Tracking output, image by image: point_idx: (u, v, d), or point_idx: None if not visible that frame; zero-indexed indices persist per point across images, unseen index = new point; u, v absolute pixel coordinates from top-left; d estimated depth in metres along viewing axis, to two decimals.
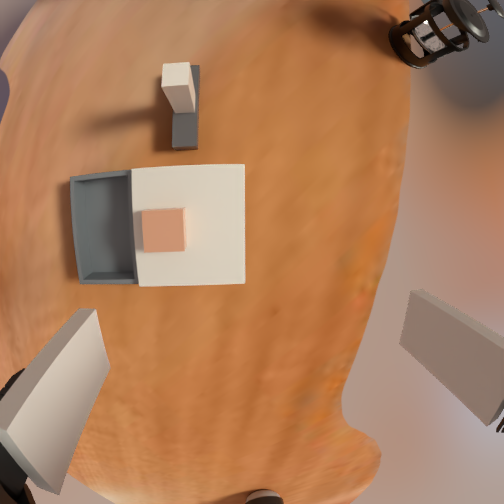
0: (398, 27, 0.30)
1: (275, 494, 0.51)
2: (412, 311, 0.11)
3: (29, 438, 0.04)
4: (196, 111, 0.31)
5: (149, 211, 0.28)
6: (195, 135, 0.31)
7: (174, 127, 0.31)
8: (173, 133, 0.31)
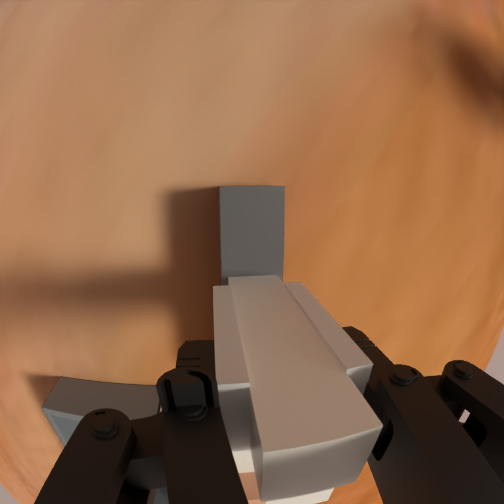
0: None
1: None
2: None
3: None
4: None
5: None
6: None
7: None
8: None
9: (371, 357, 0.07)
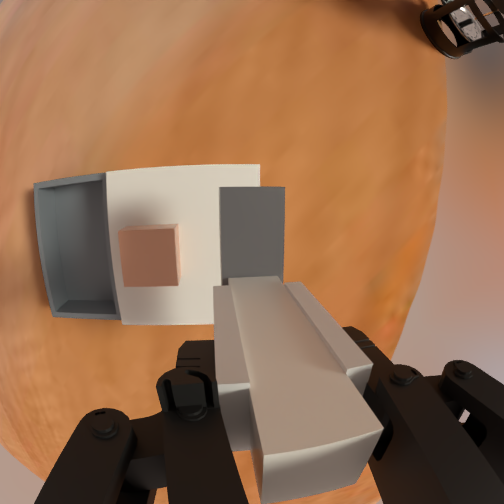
0: (431, 10, 0.21)
1: None
2: None
3: None
4: None
5: (128, 231, 0.20)
6: None
7: None
8: None
9: (371, 357, 0.07)
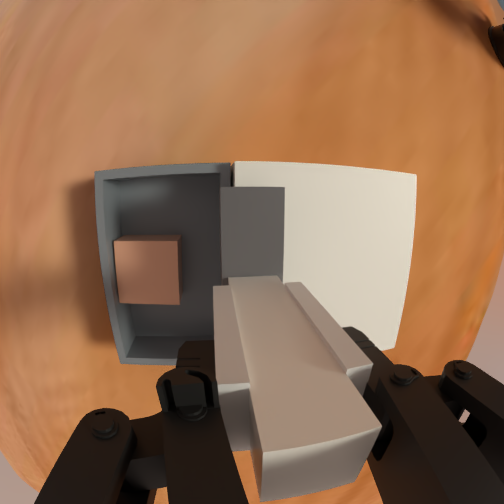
0: (500, 29, 0.17)
1: None
2: None
3: None
4: None
5: None
6: None
7: None
8: None
9: (371, 357, 0.07)
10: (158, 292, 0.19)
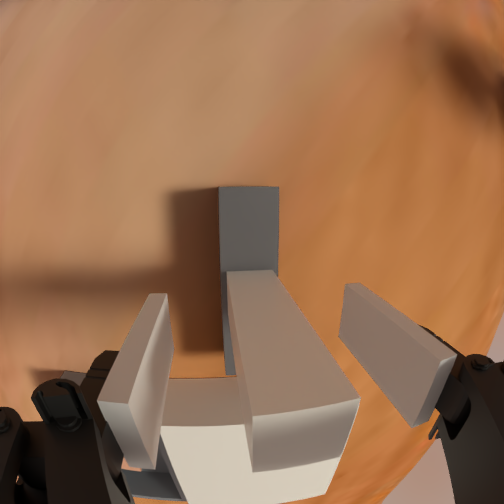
0: None
1: None
2: (347, 304, 0.12)
3: (140, 411, 0.05)
4: None
5: None
6: None
7: (228, 341, 0.16)
8: (227, 353, 0.16)
9: None
10: (123, 464, 0.17)
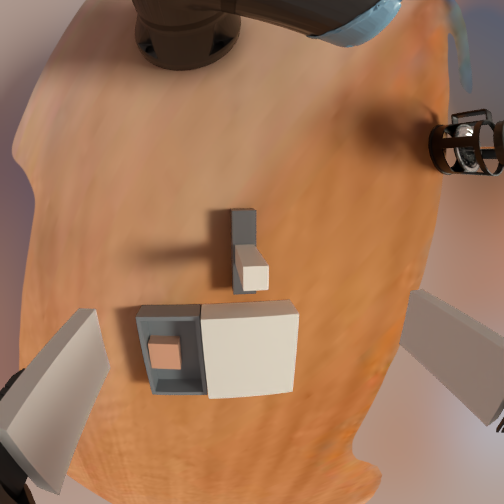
0: (440, 136, 0.36)
1: None
2: (412, 311, 0.11)
3: (29, 438, 0.04)
4: None
5: (173, 336, 0.40)
6: None
7: (235, 276, 0.37)
8: (234, 282, 0.37)
9: None
10: (170, 364, 0.38)
